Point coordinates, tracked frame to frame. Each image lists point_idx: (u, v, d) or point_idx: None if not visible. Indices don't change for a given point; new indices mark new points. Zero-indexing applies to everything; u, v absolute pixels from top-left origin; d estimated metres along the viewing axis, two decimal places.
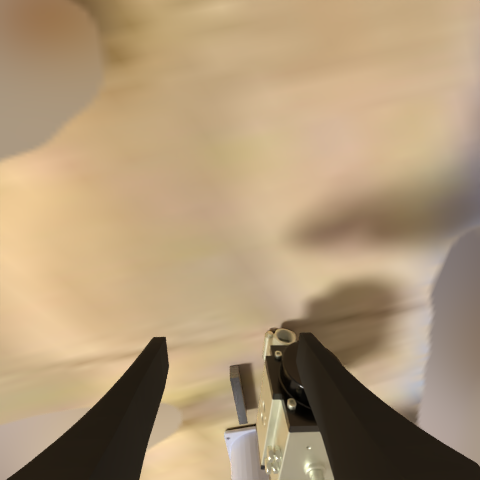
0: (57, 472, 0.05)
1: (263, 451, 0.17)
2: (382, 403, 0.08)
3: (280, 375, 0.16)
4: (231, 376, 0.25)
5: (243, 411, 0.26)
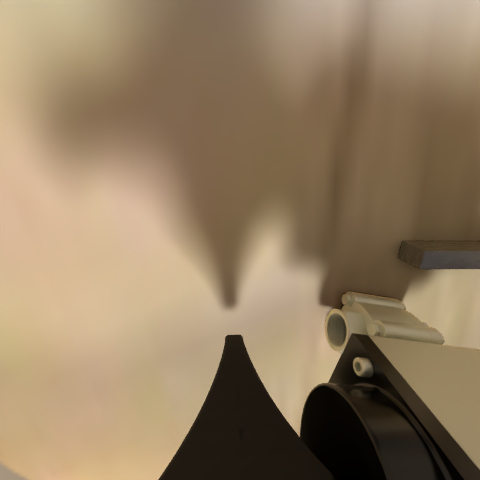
0: (211, 461, 0.06)
1: None
2: (273, 409, 0.07)
3: None
4: None
5: None
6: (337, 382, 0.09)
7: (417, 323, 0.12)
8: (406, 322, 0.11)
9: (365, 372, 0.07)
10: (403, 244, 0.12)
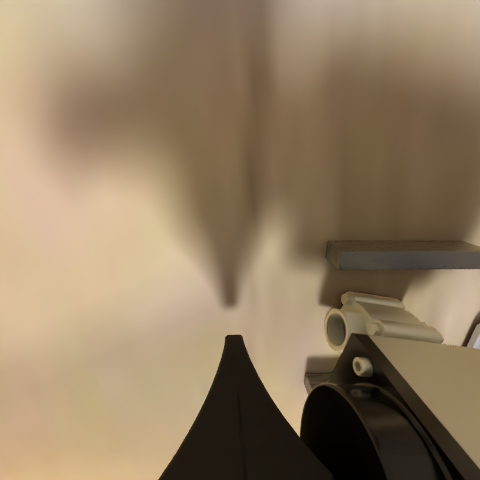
0: (211, 461, 0.06)
1: None
2: (274, 409, 0.07)
3: None
4: None
5: None
6: (337, 382, 0.09)
7: (416, 322, 0.12)
8: (405, 321, 0.11)
9: (365, 372, 0.07)
10: (328, 244, 0.12)
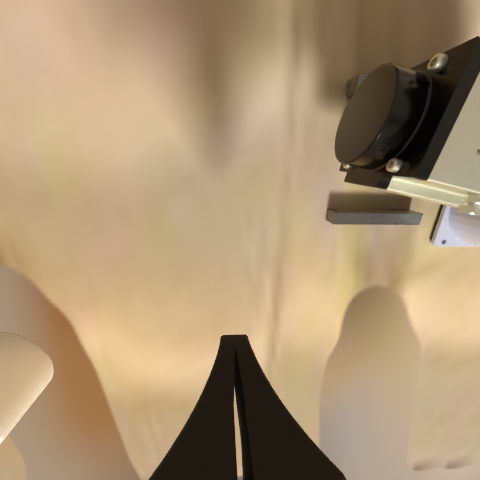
0: (201, 462, 0.06)
1: None
2: (282, 408, 0.07)
3: (364, 169, 0.12)
4: (332, 221, 0.19)
5: (397, 216, 0.19)
6: None
7: None
8: None
9: None
10: (348, 83, 0.17)
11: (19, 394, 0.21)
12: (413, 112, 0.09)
